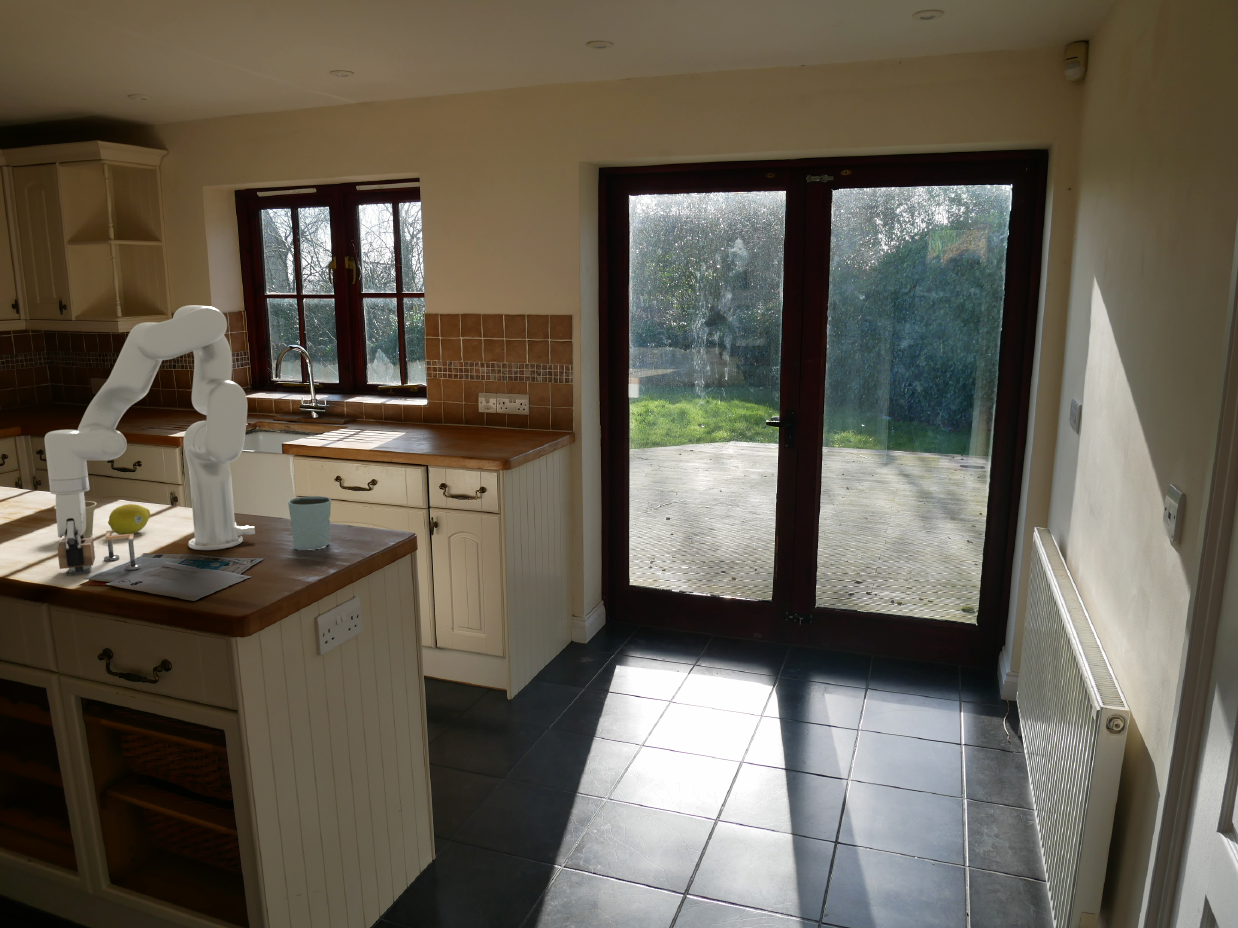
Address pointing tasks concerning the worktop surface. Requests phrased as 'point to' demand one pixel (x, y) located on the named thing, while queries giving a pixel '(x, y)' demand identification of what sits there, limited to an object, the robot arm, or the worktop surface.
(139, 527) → the lemon
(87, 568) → the peg stand
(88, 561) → the open wooden box
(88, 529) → the flower pot
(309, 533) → the light blue cup
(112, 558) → the buzz wire
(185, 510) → the worktop surface
